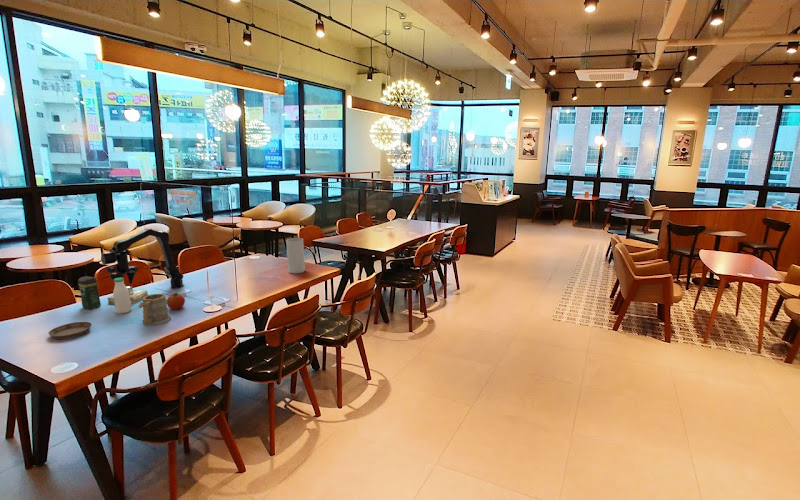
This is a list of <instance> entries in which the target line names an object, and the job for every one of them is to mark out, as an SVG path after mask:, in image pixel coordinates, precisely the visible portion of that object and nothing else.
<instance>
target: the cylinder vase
mask: <svg viewBox="0 0 800 500" xmlns="http://www.w3.org/2000/svg"><path fill="white" fill-rule="evenodd" d="M285 242H286V256H287V257H286V258H287V270H288V273H289V274H302V273H304V272H305V270H306V266H305V246H304V245H305V244H304V238H302V237H301V238H300V237H299V238H298V237H295V238H294V237H292V238H288V239H286V241H285Z"/></svg>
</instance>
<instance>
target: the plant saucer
mask: <svg viewBox="0 0 800 500" xmlns="http://www.w3.org/2000/svg"><path fill="white" fill-rule="evenodd" d="M92 325H93V323H91V321H90V322H89V321H75V322H71V323H65V324H62V325H60V326H56V327H54V328H52V329H51V330H49V331H48V335H49V337H51V338H53V339H55V340H68V339H73V338H77V337H80V336H82V335H85V334H86V333H88V331H89V330H90V329H91V328H92Z"/></svg>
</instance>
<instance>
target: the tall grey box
mask: <svg viewBox="0 0 800 500" xmlns="http://www.w3.org/2000/svg"><path fill="white" fill-rule="evenodd" d="M126 287H127V289H128V291H129V295H132V294H133V291H134V289H133V288H134V287H133V286H130V285H129V286H126Z"/></svg>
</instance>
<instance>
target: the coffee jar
mask: <svg viewBox="0 0 800 500" xmlns="http://www.w3.org/2000/svg"><path fill="white" fill-rule="evenodd" d="M77 285H78V287H79V292H80V299H81V307H82V308H83V309H86V310H90V309H97V308H99V307H101V299H100V293H99V288H98V279H97V277H93V276H88V275H86V276H81V277H79V279H78V280H77Z"/></svg>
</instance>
